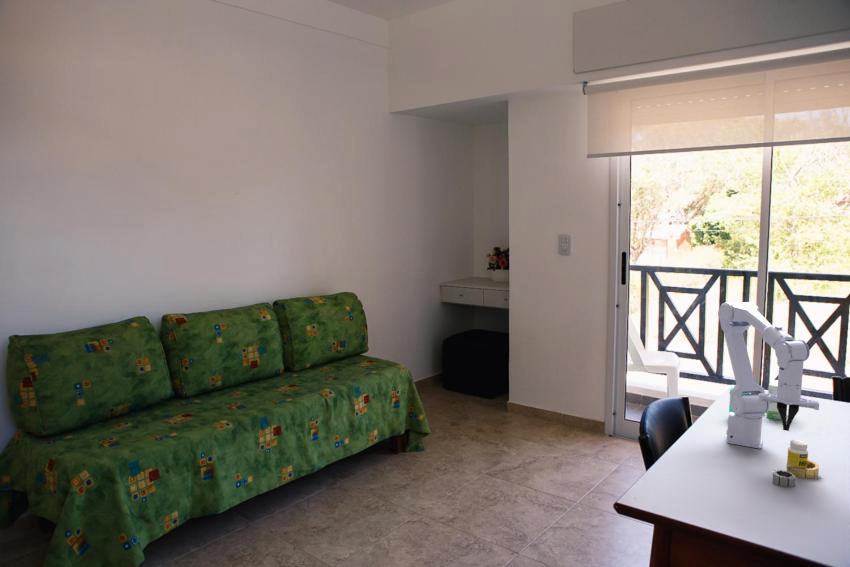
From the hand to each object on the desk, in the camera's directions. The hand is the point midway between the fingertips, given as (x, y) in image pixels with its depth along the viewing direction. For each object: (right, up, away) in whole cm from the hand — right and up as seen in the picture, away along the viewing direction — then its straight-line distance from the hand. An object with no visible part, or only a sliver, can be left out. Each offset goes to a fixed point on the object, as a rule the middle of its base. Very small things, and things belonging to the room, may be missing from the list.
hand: (786, 429), depth 171 cm
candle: (+6, -6, +38) cm, 39 cm away
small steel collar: (-7, -12, -10) cm, 17 cm away
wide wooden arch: (+2, -11, -4) cm, 12 cm away
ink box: (+20, -5, +41) cm, 46 cm away
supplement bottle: (+1, -11, -3) cm, 12 cm away
